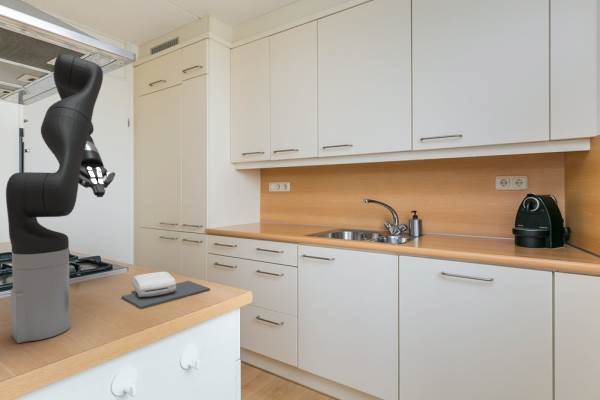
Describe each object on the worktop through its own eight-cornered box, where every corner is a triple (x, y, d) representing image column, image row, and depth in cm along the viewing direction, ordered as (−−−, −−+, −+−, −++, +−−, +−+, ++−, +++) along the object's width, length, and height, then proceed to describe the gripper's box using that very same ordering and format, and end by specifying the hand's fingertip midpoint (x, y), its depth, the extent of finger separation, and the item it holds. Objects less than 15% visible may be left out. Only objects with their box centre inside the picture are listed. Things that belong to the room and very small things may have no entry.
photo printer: (168, 269, 101) (178, 278, 90) (169, 283, 101) (178, 294, 91) (131, 274, 95) (137, 285, 85) (132, 289, 95) (137, 301, 85)
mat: (140, 309, 81) (140, 306, 81) (121, 298, 89) (121, 296, 89) (210, 290, 96) (210, 288, 96) (188, 282, 104) (188, 280, 104)
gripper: (65, 147, 101) (78, 186, 94) (111, 150, 111) (126, 186, 104) (60, 164, 105) (73, 204, 97) (106, 167, 115) (120, 202, 107)
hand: (100, 195), depth 100 cm, fingers closed
